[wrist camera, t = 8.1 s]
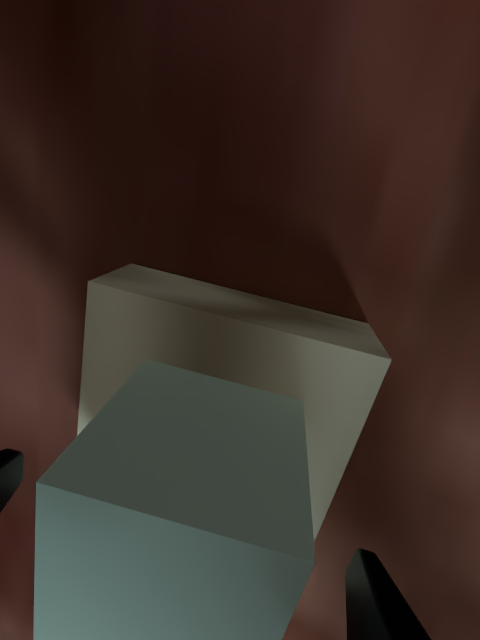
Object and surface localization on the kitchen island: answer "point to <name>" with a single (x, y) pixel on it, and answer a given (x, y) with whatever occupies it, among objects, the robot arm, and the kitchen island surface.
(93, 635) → the block
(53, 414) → the kitchen island surface
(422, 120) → the kitchen island surface
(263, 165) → the kitchen island surface
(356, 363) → the plinth
